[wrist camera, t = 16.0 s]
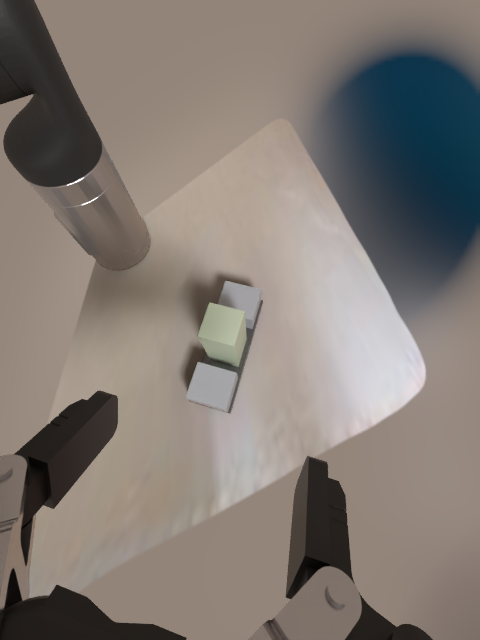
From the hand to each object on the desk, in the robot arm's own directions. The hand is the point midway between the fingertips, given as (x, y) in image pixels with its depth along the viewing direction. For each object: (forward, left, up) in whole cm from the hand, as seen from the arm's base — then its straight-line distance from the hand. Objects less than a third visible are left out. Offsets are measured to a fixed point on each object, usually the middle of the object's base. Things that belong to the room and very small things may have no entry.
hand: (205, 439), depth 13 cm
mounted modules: (-5, +11, -29) cm, 31 cm away
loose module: (-4, +11, -28) cm, 30 cm away
